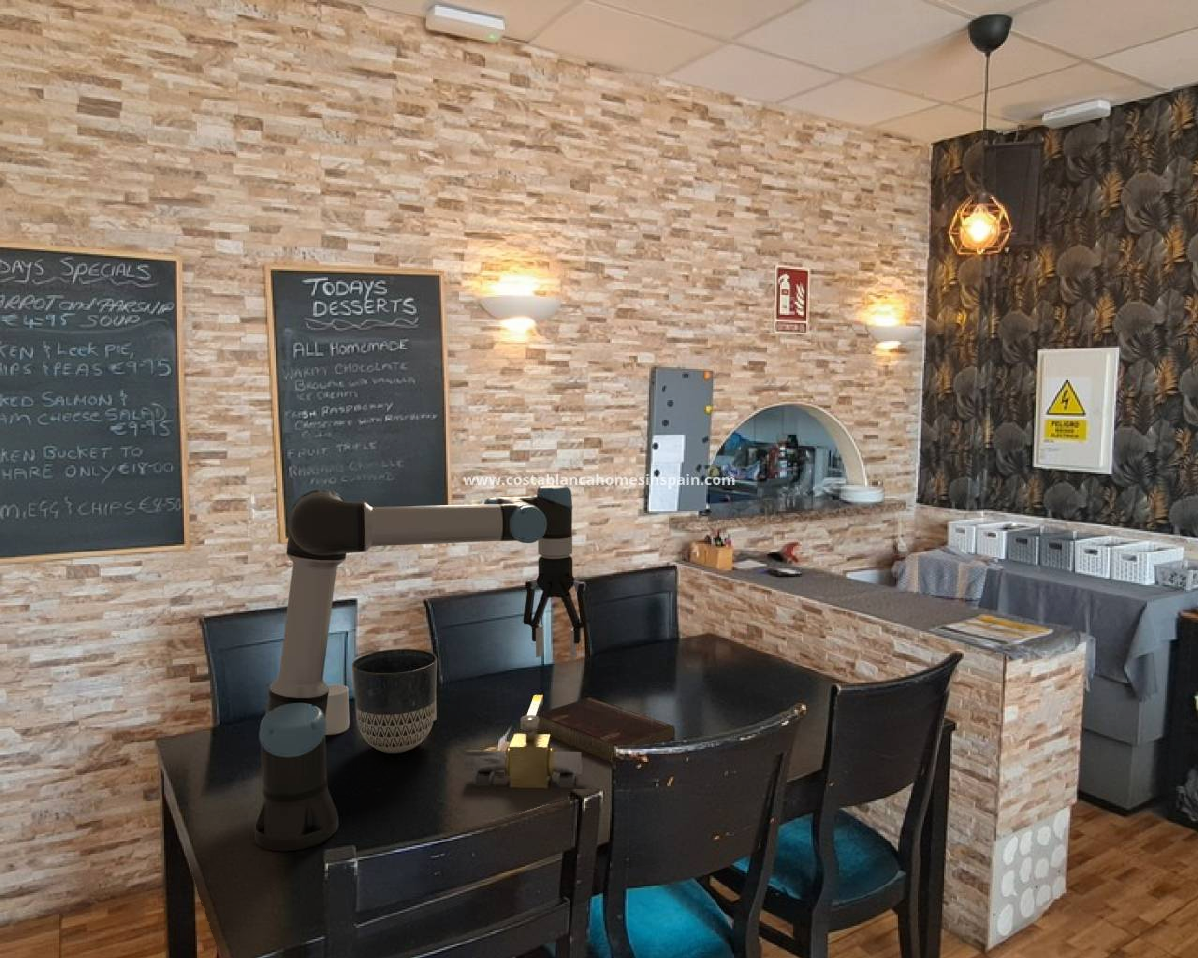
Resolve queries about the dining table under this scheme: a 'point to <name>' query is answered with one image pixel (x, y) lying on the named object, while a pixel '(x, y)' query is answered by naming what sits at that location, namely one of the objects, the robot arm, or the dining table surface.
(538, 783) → the valve
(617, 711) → the hardback book
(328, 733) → the cup
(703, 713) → the dining table surface
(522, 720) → the lever
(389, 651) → the planter
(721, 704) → the dining table surface
